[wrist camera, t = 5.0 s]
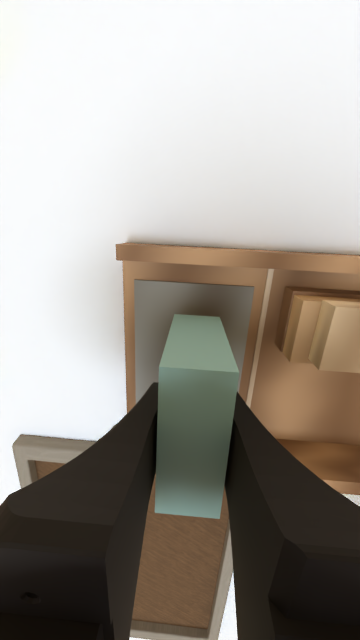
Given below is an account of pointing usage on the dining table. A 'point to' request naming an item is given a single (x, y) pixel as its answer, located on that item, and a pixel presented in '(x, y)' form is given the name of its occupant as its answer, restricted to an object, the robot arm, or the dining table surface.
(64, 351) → the dining table surface
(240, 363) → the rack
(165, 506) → the rectangular block
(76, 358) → the dining table surface
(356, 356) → the offcut stack
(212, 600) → the clipboard
